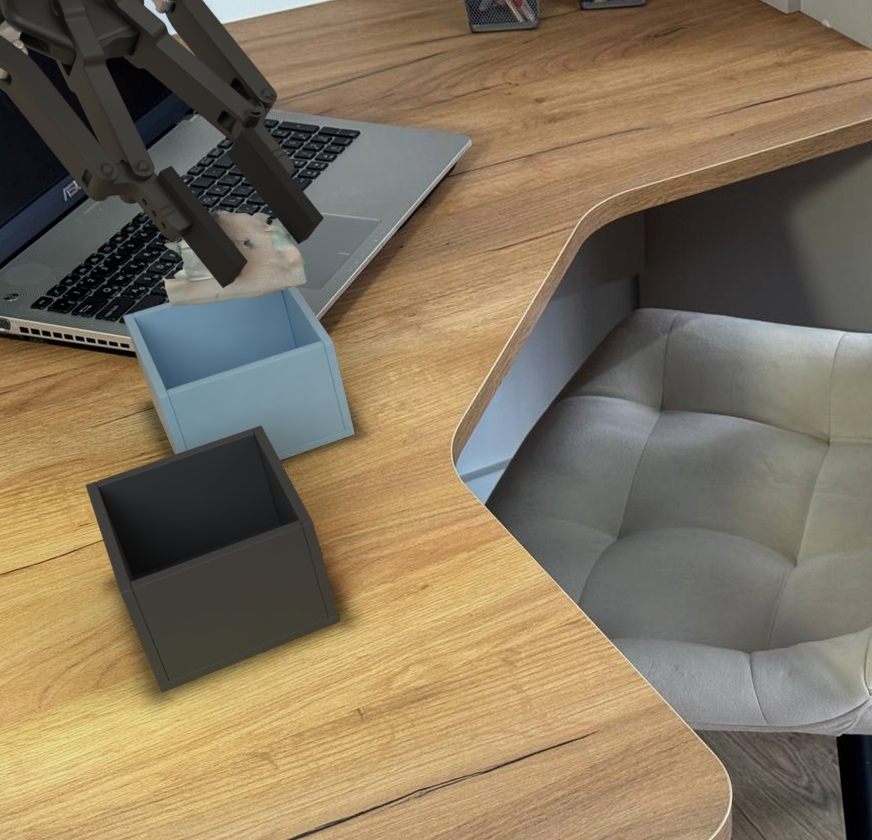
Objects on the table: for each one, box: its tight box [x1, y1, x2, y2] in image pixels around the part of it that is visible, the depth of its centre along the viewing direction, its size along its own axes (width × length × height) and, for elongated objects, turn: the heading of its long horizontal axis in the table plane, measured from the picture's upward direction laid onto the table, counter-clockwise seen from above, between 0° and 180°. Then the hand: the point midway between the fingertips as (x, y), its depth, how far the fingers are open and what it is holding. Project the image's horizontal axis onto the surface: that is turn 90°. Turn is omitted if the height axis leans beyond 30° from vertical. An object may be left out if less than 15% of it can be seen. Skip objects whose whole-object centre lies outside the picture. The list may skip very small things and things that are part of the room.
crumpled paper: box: [162, 208, 308, 306], centre depth 75 cm, size 4×8×7 cm, turn 104°
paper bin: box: [122, 286, 355, 461], centre depth 89 cm, size 11×11×8 cm
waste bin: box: [85, 426, 341, 693], centre depth 74 cm, size 10×10×8 cm
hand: (273, 251), depth 74 cm, fingers closed on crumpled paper, 5 cm apart
